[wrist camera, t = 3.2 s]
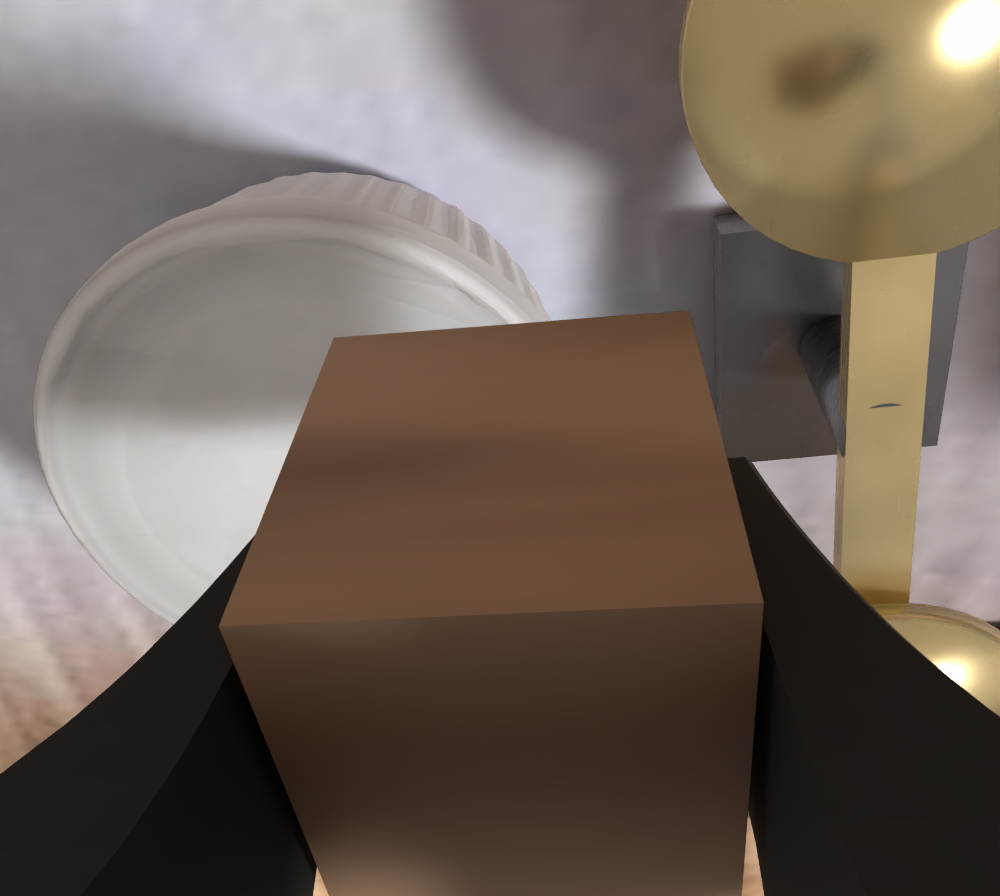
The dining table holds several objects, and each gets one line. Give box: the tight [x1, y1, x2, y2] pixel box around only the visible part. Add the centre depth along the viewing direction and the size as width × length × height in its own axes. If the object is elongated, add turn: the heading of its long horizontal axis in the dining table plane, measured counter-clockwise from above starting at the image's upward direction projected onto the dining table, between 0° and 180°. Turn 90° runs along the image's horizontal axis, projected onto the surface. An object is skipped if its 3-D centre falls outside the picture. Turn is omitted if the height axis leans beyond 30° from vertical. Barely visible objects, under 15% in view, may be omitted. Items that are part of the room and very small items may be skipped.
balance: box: [679, 0, 1000, 716], centre depth 19 cm, size 21×7×6 cm, turn 8°
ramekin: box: [33, 172, 550, 625], centre depth 20 cm, size 11×11×5 cm
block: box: [219, 311, 764, 896], centre depth 11 cm, size 4×4×5 cm
